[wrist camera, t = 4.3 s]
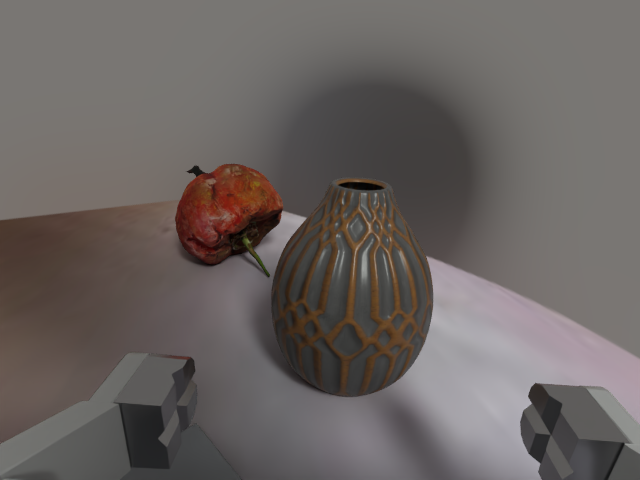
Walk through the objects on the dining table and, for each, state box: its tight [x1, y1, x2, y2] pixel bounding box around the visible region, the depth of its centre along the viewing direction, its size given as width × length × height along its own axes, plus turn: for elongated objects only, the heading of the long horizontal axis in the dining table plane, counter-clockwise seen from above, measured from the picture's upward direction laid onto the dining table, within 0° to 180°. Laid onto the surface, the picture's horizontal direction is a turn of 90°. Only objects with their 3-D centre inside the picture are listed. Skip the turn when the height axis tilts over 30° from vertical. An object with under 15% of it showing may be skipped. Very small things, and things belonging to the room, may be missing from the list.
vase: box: [271, 178, 433, 396], centre depth 16 cm, size 7×7×9 cm
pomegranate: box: [175, 164, 283, 277], centre depth 27 cm, size 7×7×10 cm
